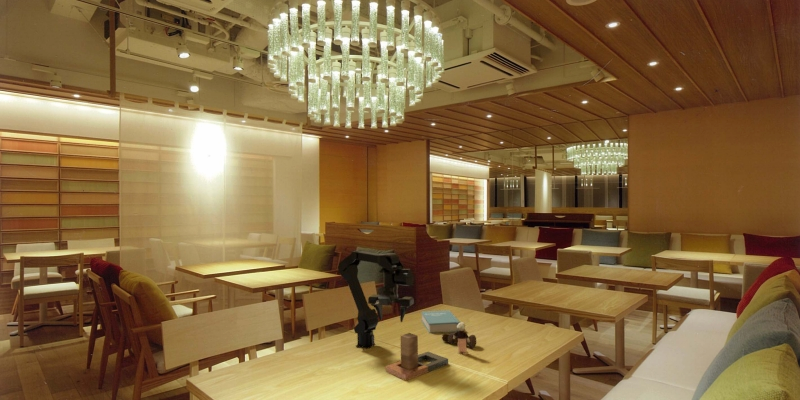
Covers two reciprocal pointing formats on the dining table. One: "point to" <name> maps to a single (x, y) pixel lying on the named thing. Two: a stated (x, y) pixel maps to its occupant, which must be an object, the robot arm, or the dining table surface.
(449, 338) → the bolt
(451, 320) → the book
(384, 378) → the dining table surface
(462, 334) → the grandmother figurine
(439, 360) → the grey-tan flat frame piece
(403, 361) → the walnut post
